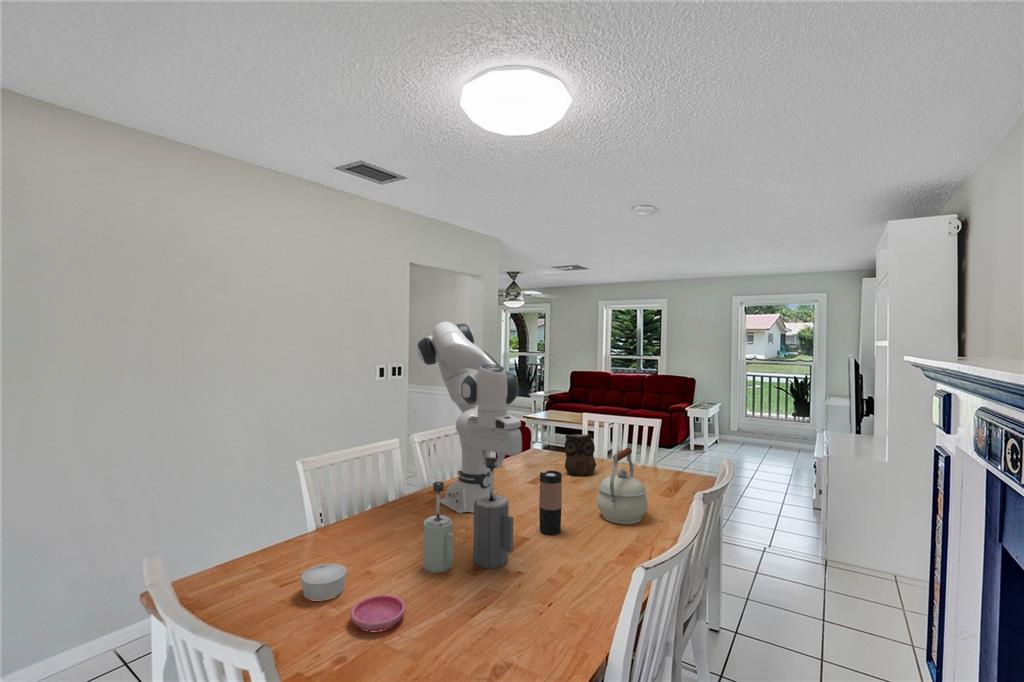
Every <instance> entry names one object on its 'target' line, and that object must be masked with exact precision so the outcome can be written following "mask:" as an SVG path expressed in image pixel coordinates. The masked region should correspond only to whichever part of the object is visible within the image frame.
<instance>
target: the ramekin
mask: <svg viewBox="0 0 1024 682" xmlns="http://www.w3.org/2000/svg"><path fill="white" fill-rule="evenodd" d="M347 573H348V570H347V567H345V566H344V565H342V564H339V563H327V564H326V563H324V564H318V565H315V566H312V567H310V568H308V569H307V570H305V571H304V572H303V573H302V575H301V576H300V582H301V584H302V593H303V596H304V598H306V599H307V598H308V599H313V600H325V599H328V598H329V599H330V598H332V597H335V596H337V595H339V594H340V593H341V594H342V592H343V591H344V588H345V583H346V578H347V575H348V574H347ZM341 594H340V595H341ZM340 595H339V596H340ZM337 597H338V596H337ZM335 598H336V597H335ZM308 599H307V600H308Z"/></svg>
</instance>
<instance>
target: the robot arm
mask: <svg viewBox="0 0 1024 682" xmlns="http://www.w3.org/2000/svg"><path fill="white" fill-rule="evenodd" d="M416 346H417V355H418V356H419V358H420V360H421V361H422V362H423V363H424V364H426V366H431V365H435V364H437V363H438V367H439V372H440V375H441V378H442V381H443V383H444V385H445V387H446V389H447V392H448V394H449V397H450V399H451V401H452V402H453V403H455V405H456V406H457V407H458V409H459V410H460V412H461V414H460V415H459V416H458V417H457V420H456V422H455V430H456V433H457V434H458V436H459V437H458V438H459V443H460V447H461V470H458V471H457V472H456V476H457V475H458V477H457V479H455V481H454V482H453V483H451V484H449V486H448V487H447V488H446V491H445V496H444V497H442V498H440V503H442V504H444V505H446V506H448V507H449V508H448V507H447V508H448V509H450V508H451V509H450V510H452V509H453V510H455V511H456V513H457V512H459V513H458V514H464V513H463V512H471V513H470V514H474V502H475V500H477V498H478V497H481V496H484V495H490V468H487V467H486V458H489V457H491V453H492V452H493V453H496V456H497V458H498V459H497V461H494V464H495V465H494V466H495V467H497V468H498V469H500V468H502V467H503V461H504V460H505V457H506V455H507V456H512V457H513V456H518V455H520V454H521V453H522V451H523V440H522V439H523V438H522V436H523V435H522V432H521V430H520V428H521V427H522V422H521V420H520V419H519V418H517V417H515V416H513V415H512V414H510V412H509V413H508V405H510V404H511V403H513V402H514V401H515V399H516V398H517V397H518V395H519V392H520V385H519V384H520V383H519V382H518V379H517V377H515V375H513V373H512V372H509V371H507V370H506V368H505V367H504V366H501V365H500V364H499V363H498V362H497V361H496V360H495V359H494V358H493V357H492V356H491V355H490V354H489V352H487V351H486V350H484V349H483V348H480V347H479V346H477V345H476V344H475V336H474V333H473V330H472V329H471V328H470V327H469V325H467V323H457V324H456V325H455V323H453V322H450V321H442V322H439V323H438V324H436V325H435V327H434V328H433V329H432V334H431V335H429V336H426V337H423V338H422V339H421V340H419V341H418V343H417V345H416ZM470 370H474V371H475V370H476V372H474V373H472V372H471V371H470ZM497 468H496V469H497ZM442 504H441V505H442ZM444 505H443V506H444ZM446 506H445V507H446ZM453 510H452V511H453ZM455 511H454V512H455Z"/></svg>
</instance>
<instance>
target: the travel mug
mask: <svg viewBox="0 0 1024 682" xmlns="http://www.w3.org/2000/svg"><path fill="white" fill-rule="evenodd" d="M562 476H563V475H562V472H560V471H557V470H547V471H545V472H543V471H540V473H539V495H538V496H539V498H538V499H539V504H538V507H539V509H538V510H539V516H538V517H539V532H540V533H541V534H543V535H545V536H557V535H559V534H560V533H561V528H562V524H561V523H562V507H563V506H562V502H563V501H562V499H563V497H562V496H563V495H562V485H563V484H562V483H563V481H562Z"/></svg>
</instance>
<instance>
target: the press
mask: <svg viewBox="0 0 1024 682" xmlns="http://www.w3.org/2000/svg"><path fill="white" fill-rule="evenodd" d="M509 510H510V501H509V500H508V499H507V497H505V496H501V495H499V494H494V501H490V495H484V496H481V497H478V498H477V500H475V502H474V513H473V546H472V547H473V548H472V549H473V553H472V556H473V563H474V564H475V566H477V567H478V568H481V569H488V570H492V569H494V570H495V569H500V568H502V567H504V566H506V565H507V564H508V562H509V561H508V559H509V553H510V554H511V553H512V552H514V516H511V515H509V513H510V511H509Z"/></svg>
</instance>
